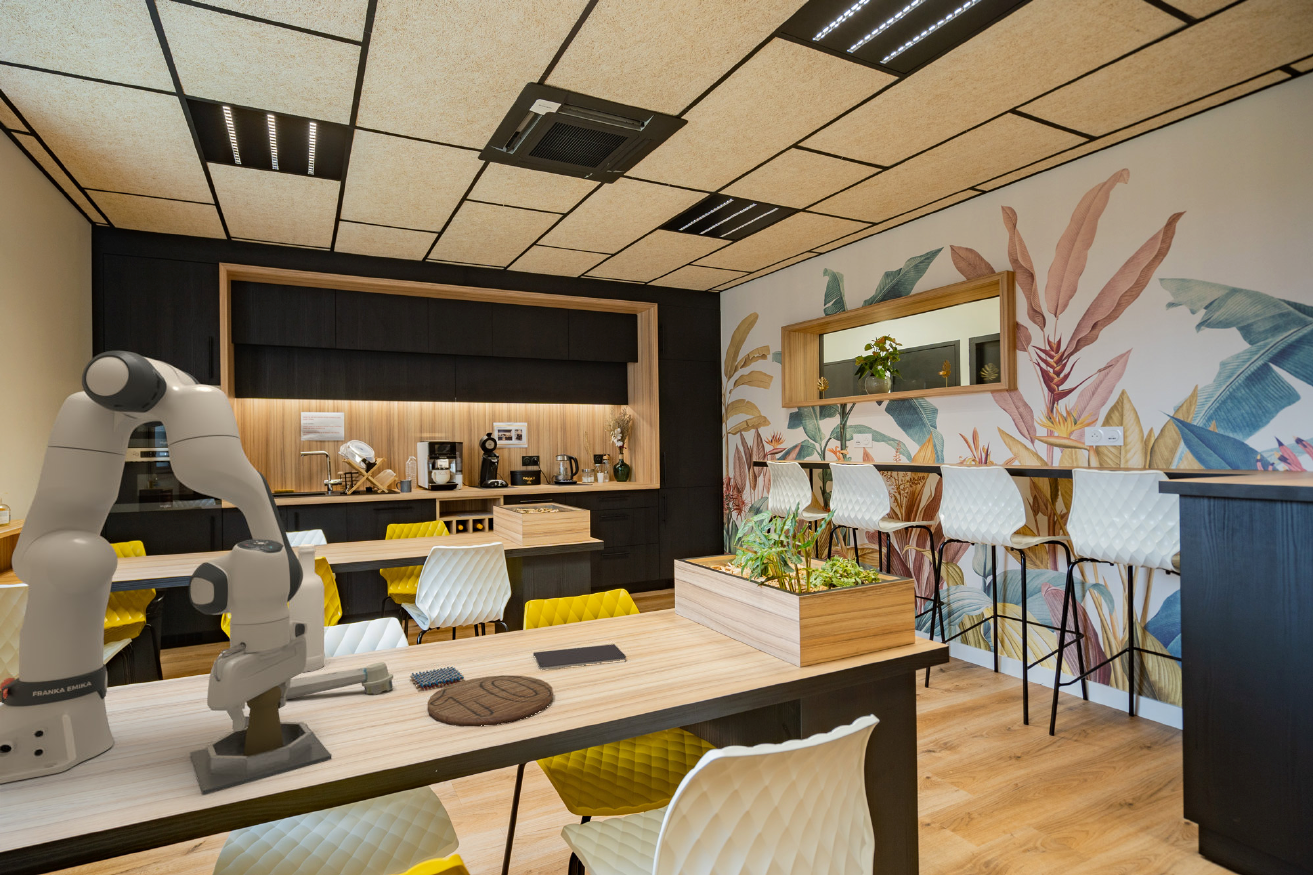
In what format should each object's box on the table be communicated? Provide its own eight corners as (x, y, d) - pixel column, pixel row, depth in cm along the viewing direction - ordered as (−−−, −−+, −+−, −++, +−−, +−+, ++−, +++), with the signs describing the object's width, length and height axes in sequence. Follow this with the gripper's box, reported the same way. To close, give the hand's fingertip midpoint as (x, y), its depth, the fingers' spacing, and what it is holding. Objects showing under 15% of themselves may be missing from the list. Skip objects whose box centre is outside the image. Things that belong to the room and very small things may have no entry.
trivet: (471, 740, 120) (471, 729, 120) (404, 707, 137) (404, 697, 137) (577, 701, 138) (577, 692, 138) (507, 676, 155) (507, 668, 155)
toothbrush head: (268, 679, 143) (391, 653, 149) (273, 710, 143) (396, 683, 149) (260, 687, 138) (387, 660, 144) (265, 719, 138) (392, 691, 144)
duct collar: (202, 794, 101) (202, 774, 101) (190, 755, 114) (190, 737, 114) (331, 758, 112) (331, 740, 112) (305, 727, 126) (305, 710, 126)
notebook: (614, 649, 176) (533, 658, 169) (614, 643, 176) (533, 652, 169) (627, 663, 164) (540, 673, 157) (627, 657, 164) (540, 666, 157)
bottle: (280, 671, 161) (280, 546, 162) (307, 661, 168) (307, 542, 169) (305, 674, 158) (305, 547, 159) (332, 664, 165) (331, 543, 166)
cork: (261, 761, 110) (261, 694, 111) (234, 756, 112) (234, 690, 113) (292, 746, 116) (292, 682, 116) (266, 742, 118) (266, 679, 118)
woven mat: (454, 673, 159) (454, 664, 159) (467, 685, 150) (466, 676, 150) (408, 681, 153) (408, 672, 153) (418, 694, 144) (418, 685, 144)
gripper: (234, 653, 103) (233, 744, 103) (313, 621, 124) (313, 697, 123) (196, 653, 104) (195, 743, 103) (281, 621, 124) (281, 696, 124)
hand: (260, 717), depth 113 cm, fingers open, 8 cm apart
